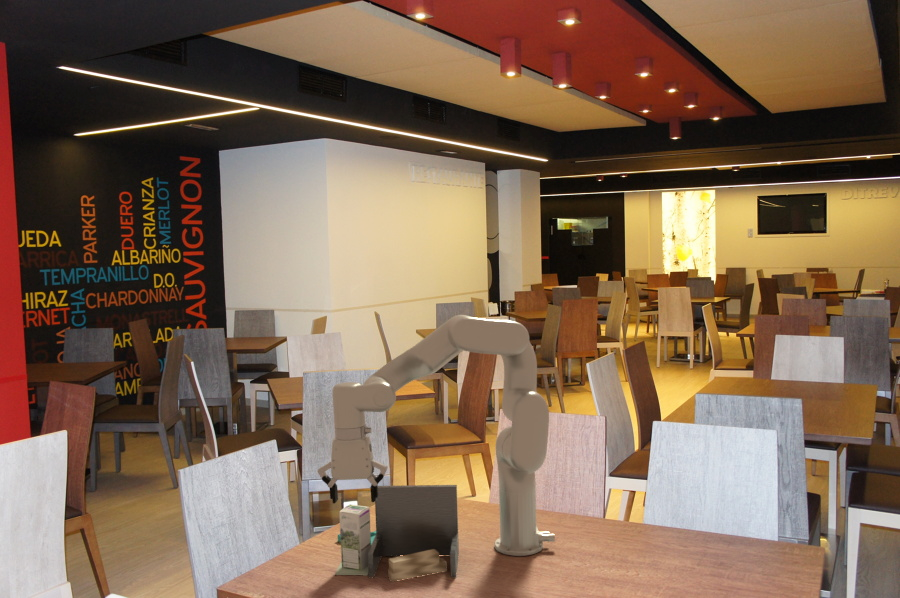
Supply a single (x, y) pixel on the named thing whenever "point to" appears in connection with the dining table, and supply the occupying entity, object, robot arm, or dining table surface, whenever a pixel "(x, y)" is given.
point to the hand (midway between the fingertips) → (354, 501)
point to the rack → (415, 523)
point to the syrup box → (355, 536)
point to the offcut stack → (415, 565)
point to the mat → (350, 571)
